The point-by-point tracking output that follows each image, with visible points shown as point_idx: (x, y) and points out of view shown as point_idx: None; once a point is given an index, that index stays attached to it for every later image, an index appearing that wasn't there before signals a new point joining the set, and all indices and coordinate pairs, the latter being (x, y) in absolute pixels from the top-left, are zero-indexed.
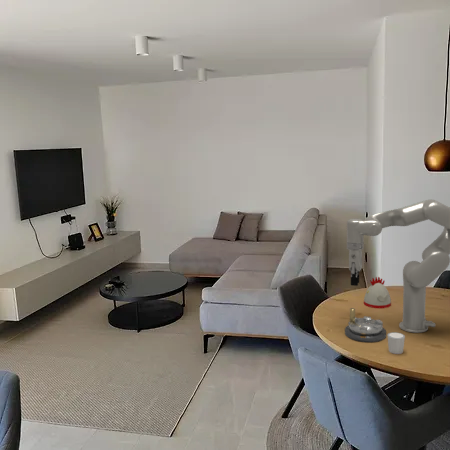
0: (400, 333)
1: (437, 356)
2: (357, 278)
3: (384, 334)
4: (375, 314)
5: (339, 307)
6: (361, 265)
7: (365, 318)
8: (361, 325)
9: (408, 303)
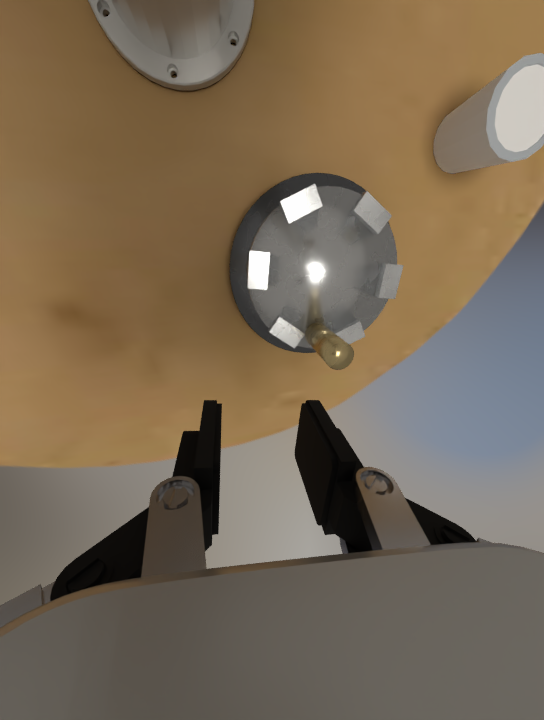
0: (507, 78)
1: None
2: (349, 453)
3: (354, 183)
4: (37, 229)
5: (22, 404)
6: (315, 718)
7: (267, 279)
8: (345, 292)
9: None
